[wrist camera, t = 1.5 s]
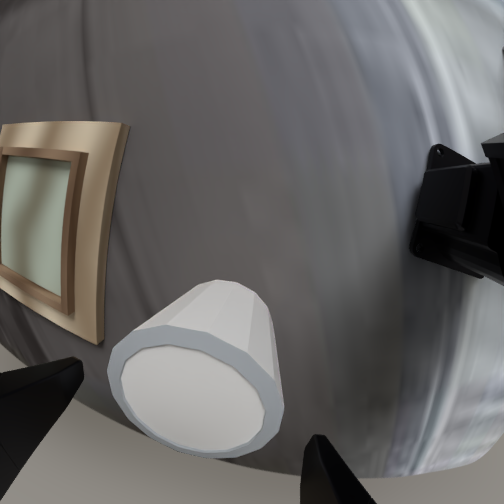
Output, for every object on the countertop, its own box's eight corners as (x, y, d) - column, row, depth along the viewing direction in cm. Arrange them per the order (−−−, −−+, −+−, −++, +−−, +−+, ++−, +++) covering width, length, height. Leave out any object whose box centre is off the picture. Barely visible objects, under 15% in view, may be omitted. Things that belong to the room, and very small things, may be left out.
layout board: (130, 126, 14) (114, 119, 12) (104, 338, 17) (90, 350, 15) (10, 126, 14) (-4, 123, 12) (-1, 279, 17) (-14, 284, 15)
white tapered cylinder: (211, 242, 14) (154, 282, 8) (309, 321, 15) (326, 407, 8) (148, 326, 16) (86, 391, 9) (234, 390, 16) (212, 475, 9)
